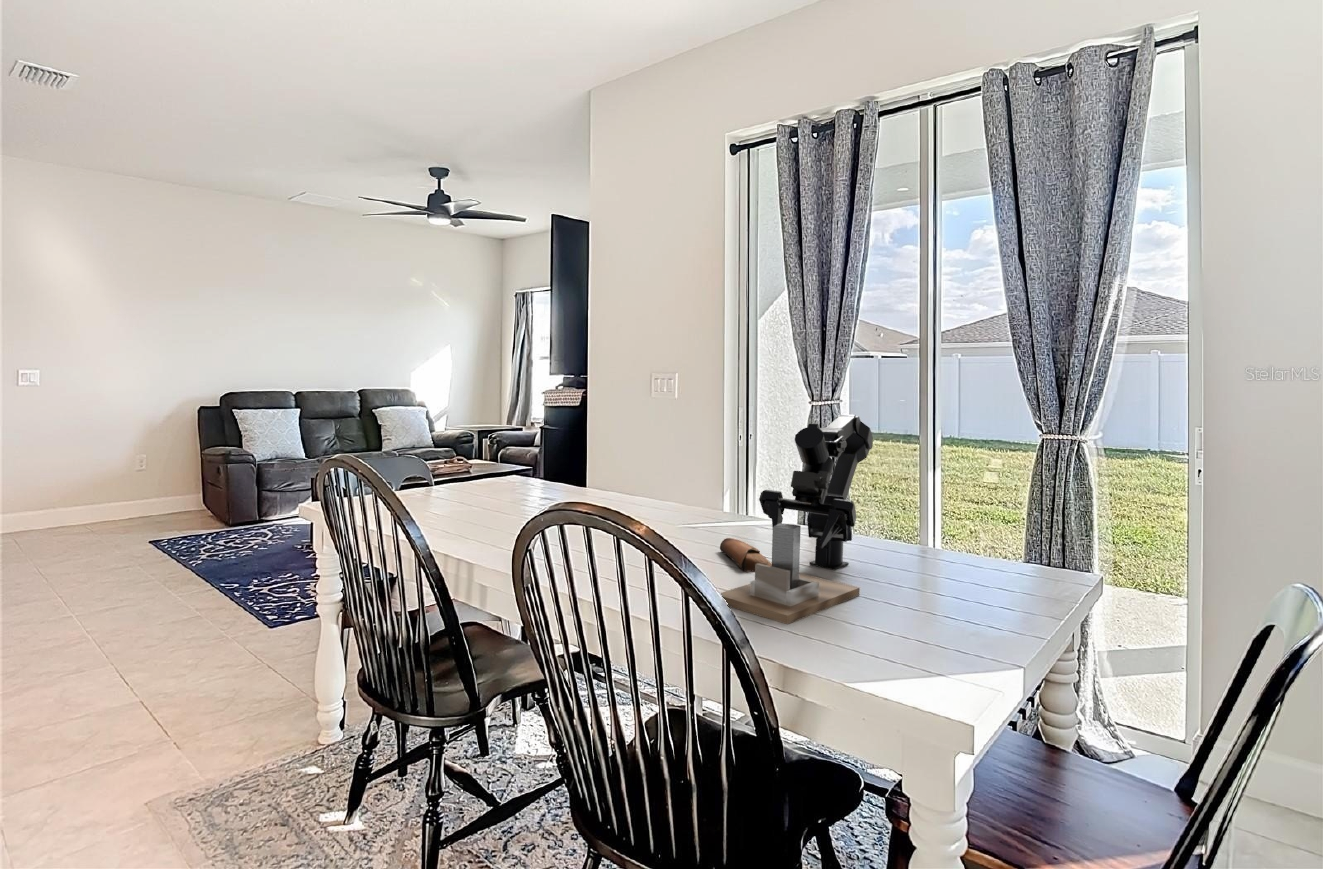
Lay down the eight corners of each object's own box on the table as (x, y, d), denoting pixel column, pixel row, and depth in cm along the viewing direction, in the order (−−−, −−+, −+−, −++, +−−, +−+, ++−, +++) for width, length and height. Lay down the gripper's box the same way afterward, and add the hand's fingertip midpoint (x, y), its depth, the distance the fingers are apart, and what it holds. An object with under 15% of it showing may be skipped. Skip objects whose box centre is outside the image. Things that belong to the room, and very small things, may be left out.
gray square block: (777, 590, 136) (779, 523, 135) (798, 594, 134) (800, 525, 133) (770, 596, 132) (772, 526, 131) (791, 599, 131) (793, 529, 129)
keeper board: (790, 577, 150) (791, 542, 150) (859, 595, 139) (860, 557, 138) (715, 602, 133) (716, 562, 133) (787, 624, 122) (788, 580, 121)
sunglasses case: (778, 569, 156) (764, 544, 155) (751, 587, 155) (737, 561, 154) (752, 550, 174) (739, 527, 173) (728, 565, 173) (715, 542, 172)
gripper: (764, 450, 146) (743, 513, 138) (857, 460, 138) (841, 528, 130) (774, 482, 154) (754, 544, 146) (862, 493, 146) (847, 559, 138)
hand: (797, 543), depth 139 cm, fingers open, 9 cm apart
